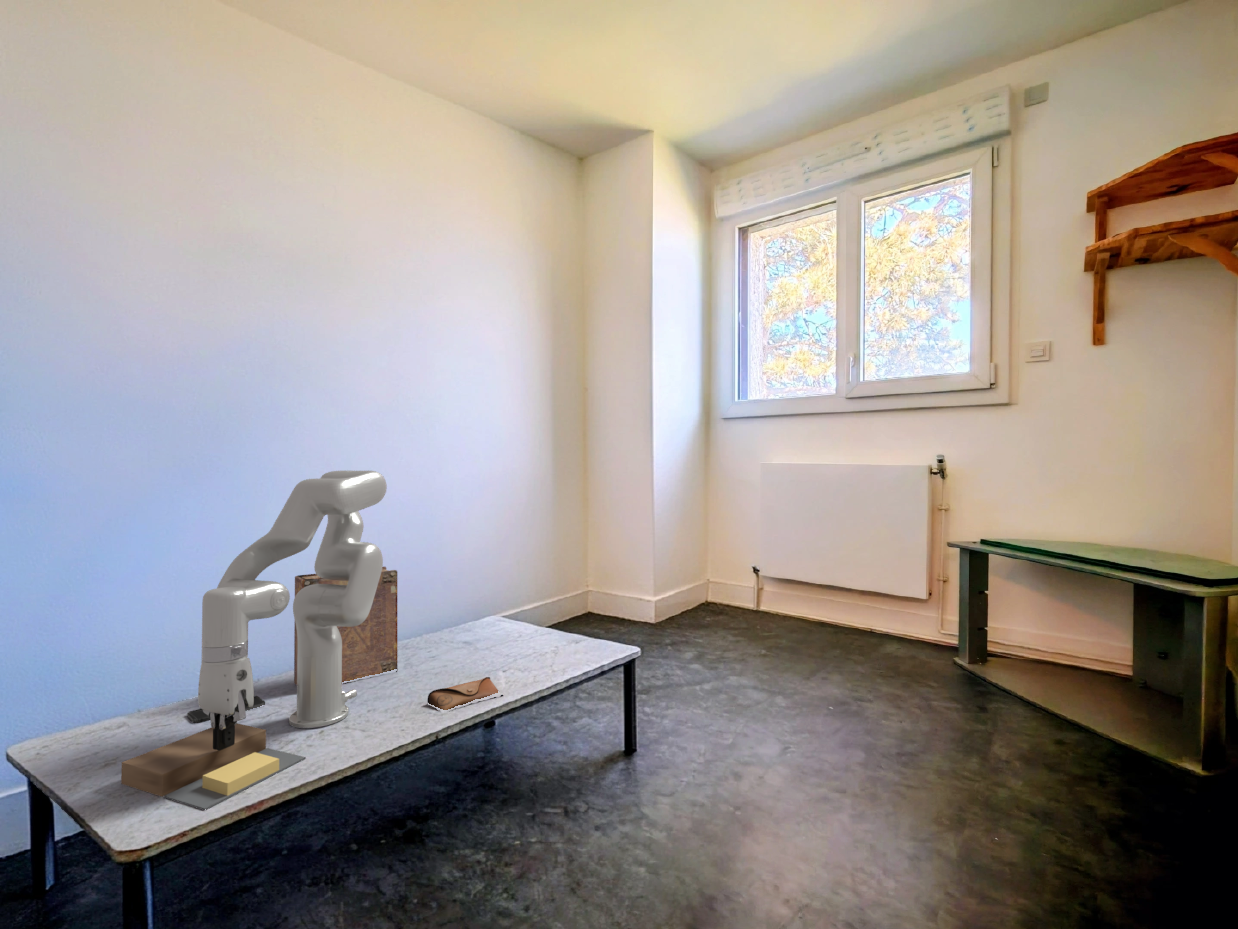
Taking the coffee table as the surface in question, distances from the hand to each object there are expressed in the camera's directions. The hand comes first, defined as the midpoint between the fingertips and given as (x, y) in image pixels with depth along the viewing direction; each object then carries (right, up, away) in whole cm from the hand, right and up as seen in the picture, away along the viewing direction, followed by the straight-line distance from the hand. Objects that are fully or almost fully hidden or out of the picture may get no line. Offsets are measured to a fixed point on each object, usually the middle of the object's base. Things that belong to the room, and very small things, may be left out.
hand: (223, 747), depth 114 cm
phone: (-20, -6, +30) cm, 37 cm away
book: (-1, -6, +54) cm, 54 cm away
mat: (+4, -5, -2) cm, 7 cm away
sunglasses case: (+38, -6, +37) cm, 53 cm away
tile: (+5, -2, -3) cm, 7 cm away
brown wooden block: (-7, -5, +3) cm, 9 cm away
